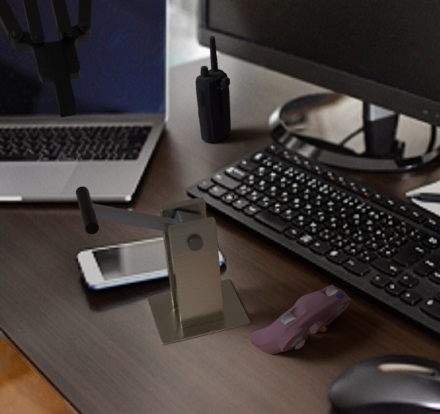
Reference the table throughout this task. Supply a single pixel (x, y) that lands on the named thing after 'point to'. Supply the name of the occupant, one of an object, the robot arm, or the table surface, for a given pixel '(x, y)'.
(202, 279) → the bracket
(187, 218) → the lever
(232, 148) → the table surface
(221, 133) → the two-way radio
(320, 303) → the pink toy race car
